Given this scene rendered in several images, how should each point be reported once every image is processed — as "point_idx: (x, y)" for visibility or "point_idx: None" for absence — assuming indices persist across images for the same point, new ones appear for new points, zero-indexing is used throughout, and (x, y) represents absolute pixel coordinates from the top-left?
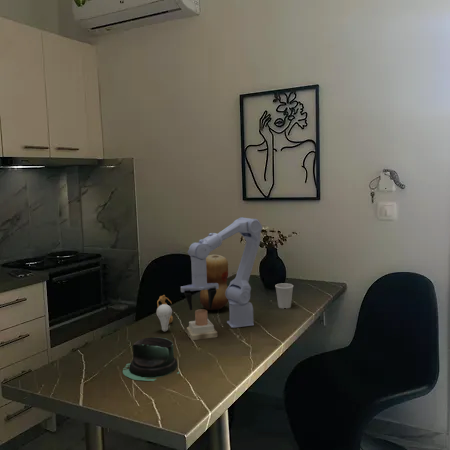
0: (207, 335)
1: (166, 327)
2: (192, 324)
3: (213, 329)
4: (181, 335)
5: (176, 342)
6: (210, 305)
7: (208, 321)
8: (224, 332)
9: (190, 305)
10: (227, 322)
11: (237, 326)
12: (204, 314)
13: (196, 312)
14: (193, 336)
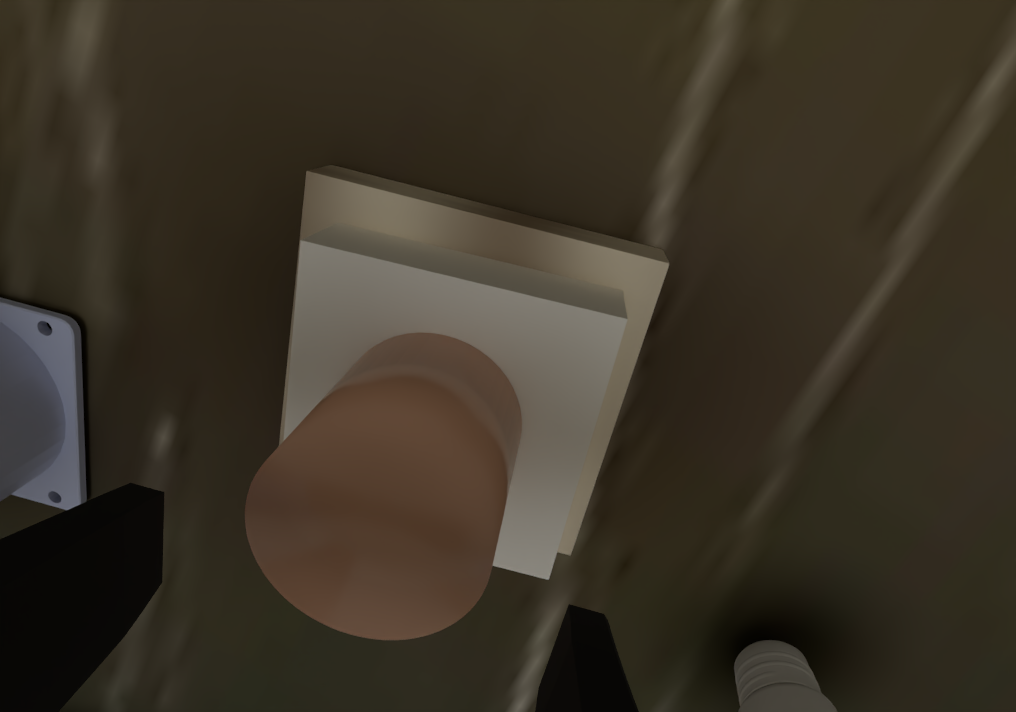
0: (452, 202)
1: (779, 666)
2: (559, 462)
3: (331, 229)
4: (684, 455)
5: (868, 290)
6: (105, 514)
7: None
8: (202, 254)
9: (619, 701)
10: (82, 479)
11: (5, 303)
12: (357, 410)
13: (486, 527)
14: (644, 252)
